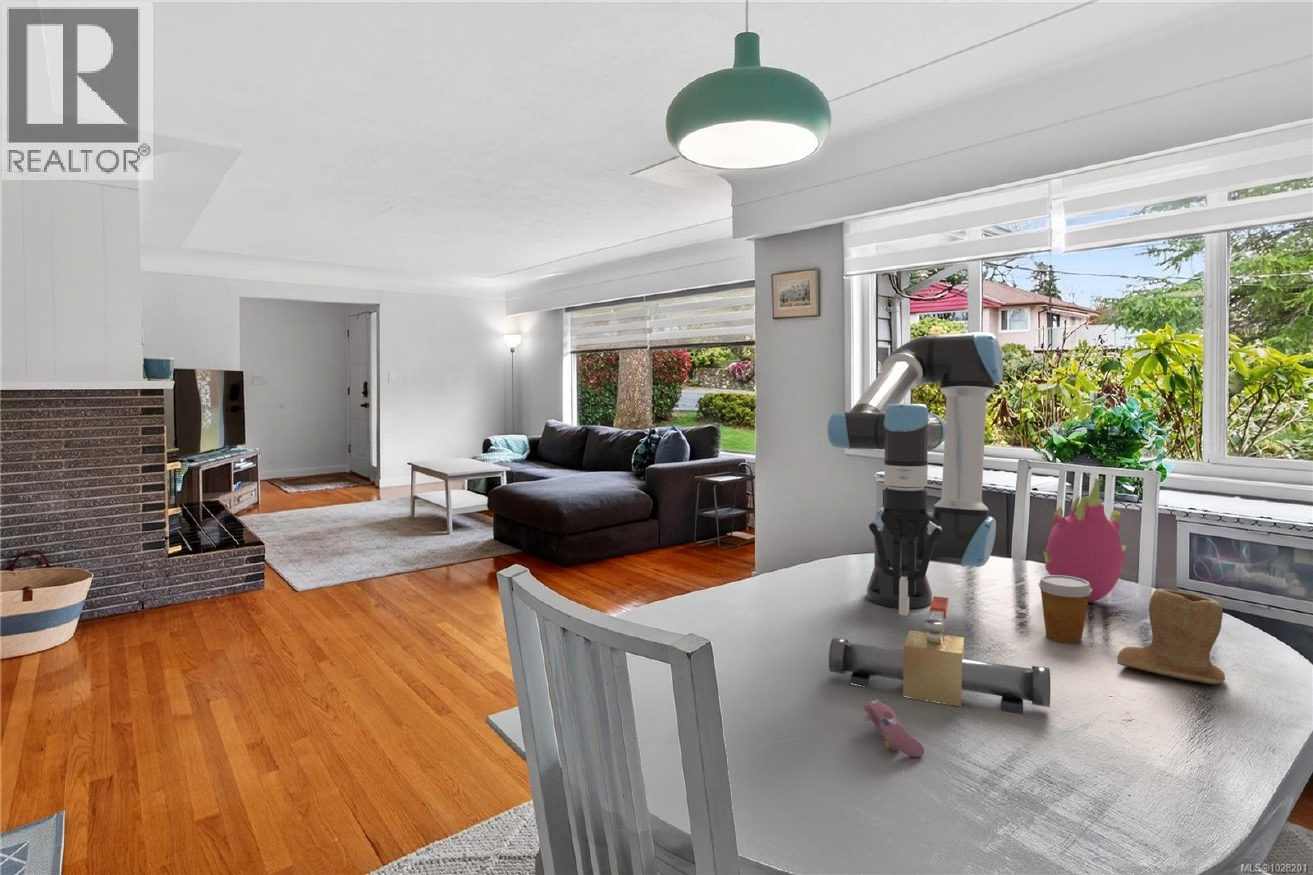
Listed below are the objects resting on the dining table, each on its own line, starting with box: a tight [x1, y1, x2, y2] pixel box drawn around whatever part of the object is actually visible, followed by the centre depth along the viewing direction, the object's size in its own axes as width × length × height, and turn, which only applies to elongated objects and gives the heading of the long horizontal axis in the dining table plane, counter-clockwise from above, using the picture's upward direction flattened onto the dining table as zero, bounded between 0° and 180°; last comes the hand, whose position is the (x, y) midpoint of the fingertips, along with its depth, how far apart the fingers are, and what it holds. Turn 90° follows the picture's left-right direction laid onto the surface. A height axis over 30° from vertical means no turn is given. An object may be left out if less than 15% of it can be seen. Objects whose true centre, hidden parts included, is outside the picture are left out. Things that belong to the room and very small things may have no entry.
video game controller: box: [863, 698, 925, 758], centre depth 103 cm, size 10×5×7 cm, turn 5°
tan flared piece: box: [1116, 588, 1226, 685], centre depth 126 cm, size 15×12×15 cm
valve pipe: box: [828, 630, 1051, 715], centre depth 119 cm, size 8×34×11 cm, turn 64°
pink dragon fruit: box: [1043, 478, 1127, 603], centre depth 166 cm, size 18×14×30 cm
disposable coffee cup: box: [1037, 574, 1092, 644], centre depth 144 cm, size 10×10×12 cm
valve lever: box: [923, 595, 949, 633], centre depth 125 cm, size 16×3×2 cm, turn 154°
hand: (904, 612), depth 130 cm, fingers closed
